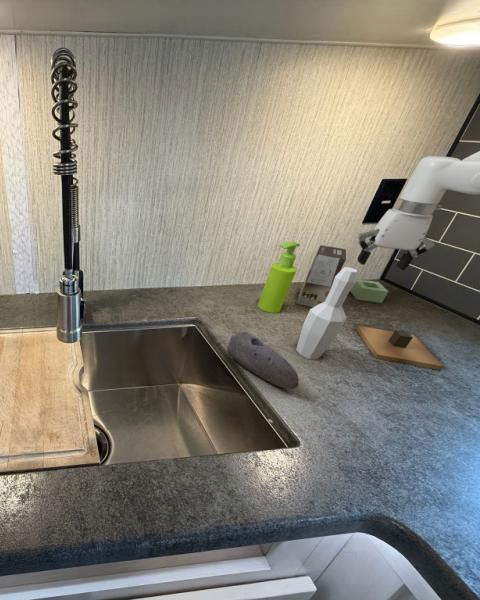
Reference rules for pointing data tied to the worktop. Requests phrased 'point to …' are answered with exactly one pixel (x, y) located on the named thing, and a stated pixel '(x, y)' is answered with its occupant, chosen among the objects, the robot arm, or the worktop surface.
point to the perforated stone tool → (262, 360)
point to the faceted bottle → (326, 317)
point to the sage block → (369, 291)
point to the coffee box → (321, 275)
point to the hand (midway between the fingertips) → (380, 265)
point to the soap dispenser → (279, 280)
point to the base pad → (398, 347)
